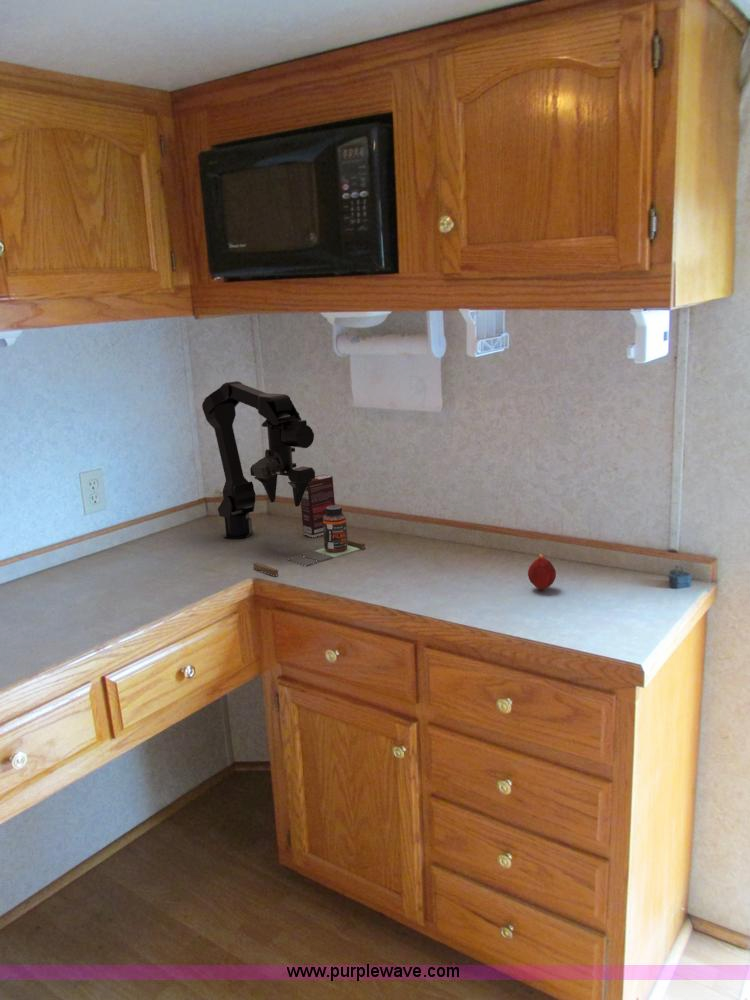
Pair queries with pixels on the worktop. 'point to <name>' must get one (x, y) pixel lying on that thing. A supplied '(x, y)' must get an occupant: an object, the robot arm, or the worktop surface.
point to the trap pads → (309, 558)
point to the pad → (336, 554)
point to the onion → (541, 573)
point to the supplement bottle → (335, 529)
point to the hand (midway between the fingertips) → (284, 504)
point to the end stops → (275, 571)
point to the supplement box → (316, 504)
